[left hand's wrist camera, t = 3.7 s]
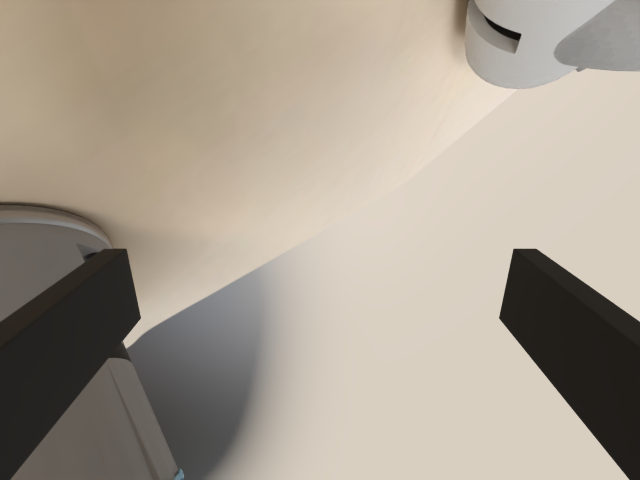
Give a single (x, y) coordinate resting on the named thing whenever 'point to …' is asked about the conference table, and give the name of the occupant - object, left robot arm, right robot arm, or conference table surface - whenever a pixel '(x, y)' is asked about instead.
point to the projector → (550, 39)
